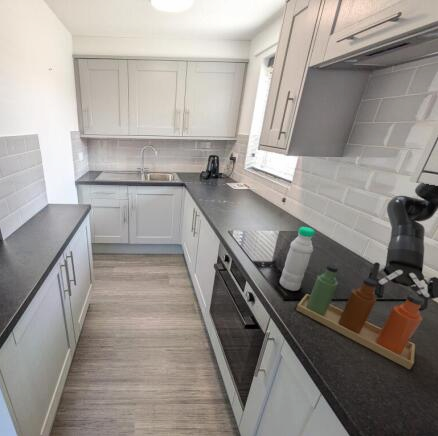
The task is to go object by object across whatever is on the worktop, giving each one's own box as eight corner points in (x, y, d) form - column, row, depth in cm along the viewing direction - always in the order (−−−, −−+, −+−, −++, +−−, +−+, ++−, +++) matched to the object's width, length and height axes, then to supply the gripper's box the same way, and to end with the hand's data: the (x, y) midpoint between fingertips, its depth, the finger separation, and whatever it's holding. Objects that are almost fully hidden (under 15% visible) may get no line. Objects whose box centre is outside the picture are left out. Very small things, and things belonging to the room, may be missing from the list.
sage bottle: (321, 306, 81) (338, 263, 74) (328, 317, 76) (347, 273, 69) (304, 303, 82) (319, 260, 75) (309, 314, 77) (327, 269, 70)
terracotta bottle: (392, 340, 68) (420, 292, 62) (406, 357, 63) (438, 307, 57) (371, 336, 69) (396, 289, 63) (383, 352, 64) (412, 302, 58)
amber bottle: (354, 322, 74) (376, 277, 68) (364, 335, 69) (388, 288, 63) (335, 318, 75) (354, 273, 69) (343, 331, 71) (365, 284, 64)
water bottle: (280, 278, 96) (296, 223, 87) (300, 284, 92) (319, 228, 83) (277, 286, 91) (295, 229, 81) (298, 294, 87) (319, 234, 78)
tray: (411, 349, 66) (415, 344, 65) (409, 369, 60) (413, 363, 59) (304, 298, 85) (306, 293, 84) (295, 309, 79) (297, 304, 78)
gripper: (379, 242, 72) (372, 291, 67) (447, 256, 65) (444, 313, 60) (369, 250, 78) (362, 295, 73) (430, 264, 71) (426, 316, 66)
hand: (399, 303), depth 67 cm, fingers open, 8 cm apart
